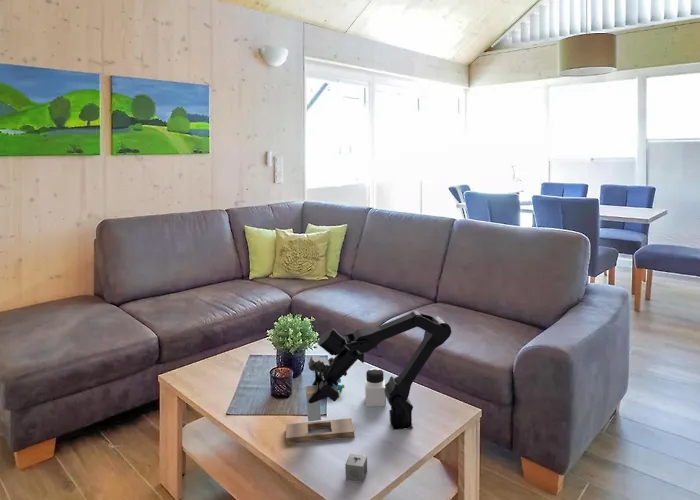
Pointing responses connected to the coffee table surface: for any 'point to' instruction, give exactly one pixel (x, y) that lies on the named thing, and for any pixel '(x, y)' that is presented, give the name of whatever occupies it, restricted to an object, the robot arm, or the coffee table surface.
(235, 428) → the coffee table surface
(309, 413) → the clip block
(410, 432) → the coffee table surface
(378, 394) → the medicine bottle
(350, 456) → the grey marked cube
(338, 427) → the wooden socket base
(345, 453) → the coffee table surface
